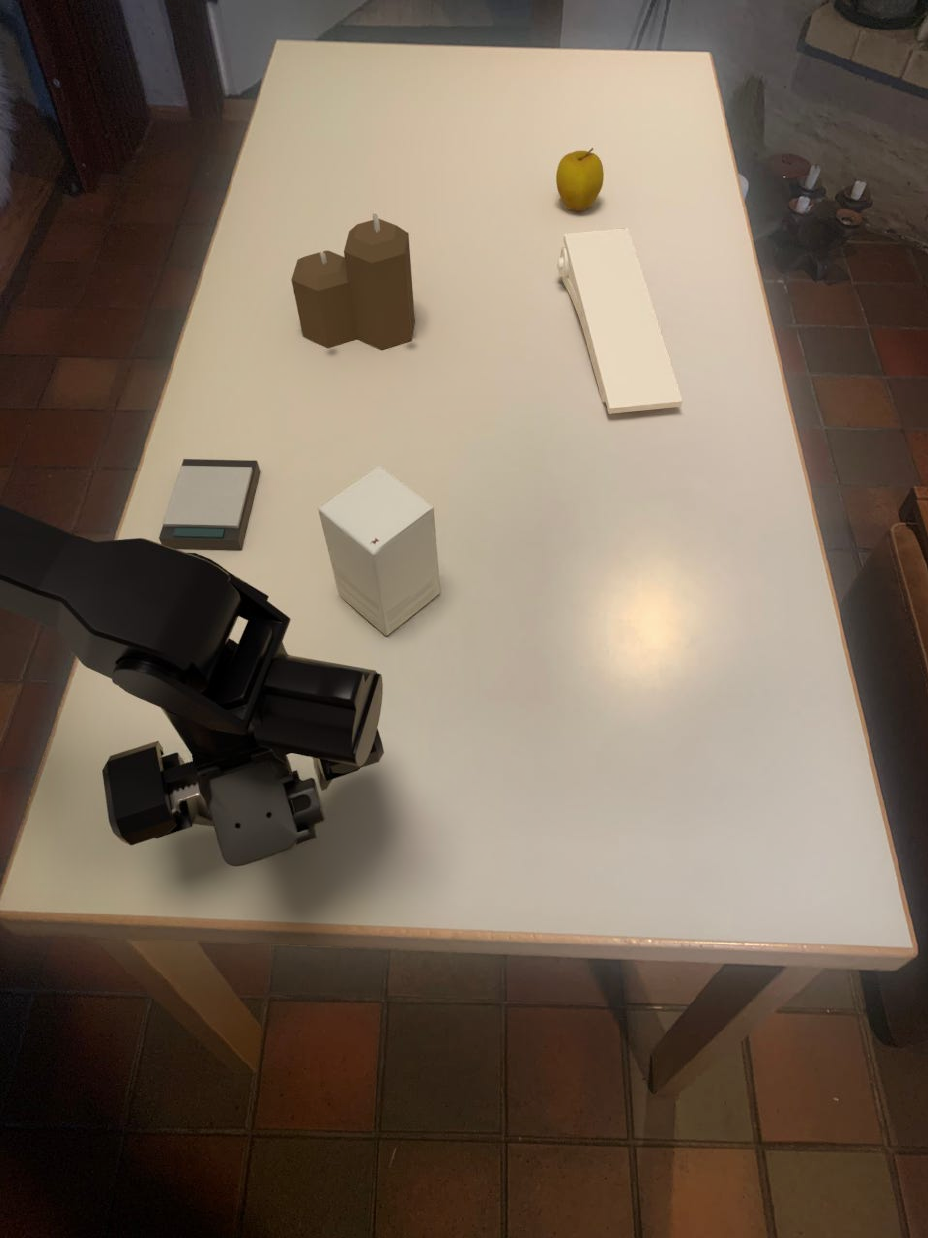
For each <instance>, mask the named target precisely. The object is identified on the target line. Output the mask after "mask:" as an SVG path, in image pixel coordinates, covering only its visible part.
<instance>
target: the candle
mask: <svg viewBox="0 0 928 1238" xmlns="http://www.w3.org/2000/svg"><path fill="white" fill-rule="evenodd" d="M290 281H291V285H292V290H293V295H294V300H295V305H296V309H297V314H298V319H299V323H300V328H301V334H302V337H303V338H305V339H307V340H309V341H311V342H314V343H316V344H318V345H320V346H323V347H325V348H326V349H330V348H332V347H336V346H339V345H343V344H346V343H348V342H351V341H355V340H359V341H360V342H363V343H365V344H367V345H370V346H371V347H373V348H376V349H379V350H381V351H383V350H386V349H390V348H393V347H396V346H399V345H402V344H405V343H409V342H411V341H412V340H413V333H414V327H415V322H416V321H415V320H416V319H415V303H414V302H415V301H414V289H413V276H412V262H411V248H410V235H409V232H407V231H406V230H405V229H403V228H402V227H400V226H398V225H397V224H394V223H391V222H389V221H386V220H384V219H381V218H379V215H378V214H377V212H372V219H371V220H367V221H363V222H360V223H357V224H355V226H354V227H352V228H351V229H350V230H348V234H347V238H346V242H345V246H344V250H343V256H342V255H340V254H338V253H335V252H333V251H330V250H323V251H322V250H319V252H316V253H312V254H309V255H305V256H302V257H300V258H298V259H297V260H296V263H295V266H294V269H293V273H292V276H291V279H290Z"/></svg>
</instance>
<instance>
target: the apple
mask: <svg viewBox="0 0 928 1238" xmlns="http://www.w3.org/2000/svg"><path fill="white" fill-rule="evenodd" d="M592 151H594V147H592V148H591V149H589V150H588V151H587V150H576V151H575V150H574V151H571V152H569V153H567V154H565V155H564V156H562V158H561V159H560V161H559V163H558V166H557V170H556V175H555V178H556V179H555V182H556V188H557V193H558V195H559V197H560V200H561V201H562V203H563V204H564V205H565V206H566V208H567V209H568V210H570V211H584V210H587V209H588V208H590V207H592V206H593V205H594V204H595V202H596V200H597V198H598V196H599V195H600V193H601V191H602V188H603V185H604V166H603V163H602V160H601V158H600V157H599V156H598V155H597V154H596V153H594V152H592Z"/></svg>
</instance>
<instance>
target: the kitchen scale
mask: <svg viewBox="0 0 928 1238" xmlns="http://www.w3.org/2000/svg"><path fill="white" fill-rule="evenodd" d="M179 467H180V468H179V471H178V472H177V476H176V479H175V483H174V486H173V490H172V493H171V496H170V499H169V503H168V505H167V509H166V511H165V515H164V519H163V522H162V527H161V530H160V533H159V537H158V541H159V542H160V544H162V545H165V546H168V547H171V548H174V549H177V550H179V549H182V550H185V549H186V550H190V549H191V550H220V551H222V550H223V551H224V550H225V551H242V549H243V545H244V540H245V536H246V532H247V528H248V523H249V519H250V515H251V511H252V507H253V503H254V499H255V494H256V490H257V487H258V481H259V478H260V473H261V468H260V466H259V462H258V460H252V459H251V460H250V459H249V460H247V459H246V460H245V459H244V460H243V459H203V458H201V459H199V458H198V459H197V458H183V460H182V463H181V466H179Z"/></svg>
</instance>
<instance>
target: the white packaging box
mask: <svg viewBox="0 0 928 1238" xmlns="http://www.w3.org/2000/svg"><path fill="white" fill-rule="evenodd" d="M317 510H318V515H319V520H320V523H321V527H322V532H323V535H324V539H325V544H326V548H327V552H328V556H329V561H330V564H331V568H332V572H333V577H334V581H335V584H336V585H335V586H336V590H337V594H338V595H339V596H340V597H341V598H342V599H343V600H344V601H345V602H346V603H348V604H349V605H350V606H351V607H352V608H353V609H354V610H355V611H357V612H358V613H359V614H360V615H361V616H362V617H363V618H364V619H366V620H367V621H368V622H369V623H370V624H371V625H373V626H374V627H375V628H376V629H377V630H378V631H379V632H381V633H382V634H383V635H384V636H386V637H388V636H389V635H390V634H392V632H394V631H395V630H397V629H398V628H399V627H400V626H401V625H402V624H404V623H405V622H407V620H409V619H410V618H412V617H413V616H414V615H415V614H417V613H418V612H419V611H420V610H421V609H423V608H424V607H425V606H426V605H428V604H429V603H430V602H431V601H433V600H434V599H435V598H436V597H437V596H438V595H440V593H441V585H440V572H439V571H440V570H439V560H438V559H439V558H438V546H437V545H438V544H437V533H436V532H437V531H436V520H435V517H436V516H435V506H434V505H433V504H431V503H430V502H429V501H428V500H426V499H425V498H424V497H422V496H420V495H419V494H418V493H416V492H415V491H414V490H412V488H410V487H409V486H407V485H406V484H405V483H403V482H402V481H401V480H400V479H398V478H397V477H395V476H394V475H393V474H392V473H391V472H389V471H388V470H387V469H385V468H384V467H383V466H381V465H378V466H376V467H375V468H374V469H372V470H371V471H369V472H368V473H366V474H365V475H363V476H361V478H359V479H358V480H356V481H355V482H354V483H352V484H351V485H349V486H348V487H346V488H345V489H344V490H342V491H340V492H339V493H338V494H336V495H335V496H332V498H330V499H329V500H327V501H325V502H324V503H322V504H321V505H320V506H318V507H317Z"/></svg>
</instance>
